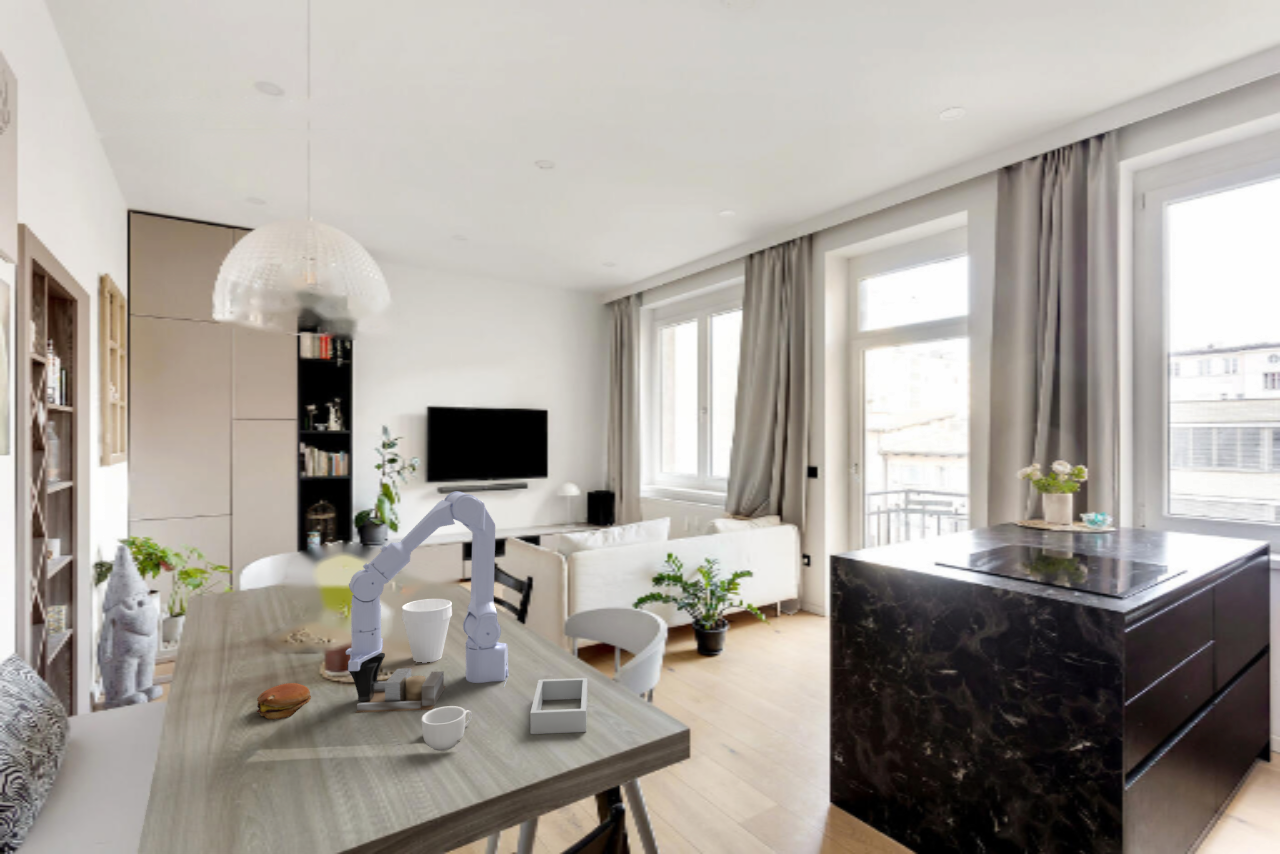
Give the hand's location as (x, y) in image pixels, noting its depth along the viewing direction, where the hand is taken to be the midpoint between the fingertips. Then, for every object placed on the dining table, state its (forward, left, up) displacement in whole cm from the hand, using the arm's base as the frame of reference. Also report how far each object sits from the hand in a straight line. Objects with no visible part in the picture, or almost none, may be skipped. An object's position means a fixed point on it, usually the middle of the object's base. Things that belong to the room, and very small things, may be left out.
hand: (366, 693), depth 134 cm
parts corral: (-41, +7, -3) cm, 42 cm away
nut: (-10, 0, -1) cm, 10 cm away
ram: (-3, 0, -1) cm, 4 cm away
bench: (-7, 0, -3) cm, 8 cm away
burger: (+17, 0, -3) cm, 17 cm away
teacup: (-21, +17, -3) cm, 27 cm away
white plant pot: (-5, -29, -3) cm, 30 cm away
